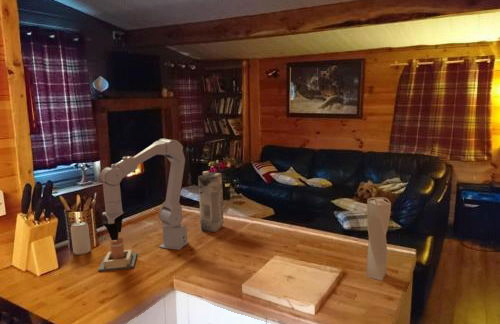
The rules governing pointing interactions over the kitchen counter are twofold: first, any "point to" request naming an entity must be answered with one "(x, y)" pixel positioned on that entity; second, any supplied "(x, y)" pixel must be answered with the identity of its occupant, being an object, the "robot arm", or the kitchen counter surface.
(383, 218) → the skyscraper
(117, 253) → the tube
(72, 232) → the can
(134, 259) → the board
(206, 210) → the juice carton
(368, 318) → the kitchen counter surface
